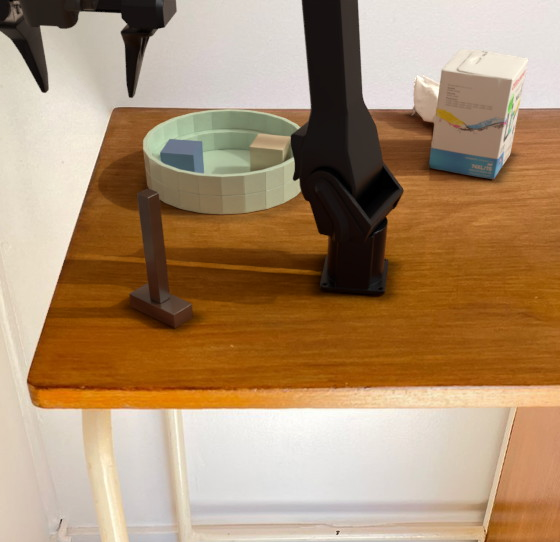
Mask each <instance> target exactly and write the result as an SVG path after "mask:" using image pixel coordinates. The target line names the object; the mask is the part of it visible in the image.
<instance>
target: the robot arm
mask: <svg viewBox="0 0 560 542" xmlns="http://www.w3.org/2000/svg"><path fill="white" fill-rule="evenodd" d="M301 11H302V12H301V13H302V23H303V34H304V45H305V56H306V65H307V66H306V68H307V81H308V92H309V101H310V109H309V110H310V112H309V116H308V119H307V120H308V121H306V123H304V124H303V125H302V126H300V128H299V129H298V130H297V131H295V132H294V133H293V134H292V135H291V149H292V153H293V157H294V162H295V171H294V175H293V180H294V181H296V180H298V179H299V184H300V189H301V192H300V193H301V195H302V197H303V199H304V201H306V202H308V203H309V205H310V208H311V209H310V210H311V213H312V215H313V220H314V222H315V226H316V229H317V232H318V234H320V235H323V236H327V255H326V256H325V259H324V263H323V268H322V273H321V278H320V282H319V289H320V290H321V291H323V292H335V293H337V292H338V293H350V294H362V295H375V296H382V295H385V294H386V288H387V279H388V278H387V277H388V269H389V268H388V267H389V259H387V258H385V256H386V248H387V247H386V246H387V234H388V224H389V221H388V218H387V216H389V214H390V213H391V212H392V211H393V210H395V209H396V208H397V206H398V204H399V203H400V200H401V198H402V196H403V194H404V191H405V190H404V188H403V186H402V185H401V184H400V182H399V181H398V179H397V178H396V177H395V175H394V174H393V172H392V171H391V170H390V168H389V167H388V166H387V165H386V163H385V162H384V159H383V153H382V147H381V144H380V143H381V142H380V138H379V132H378V128H377V124H376V122H375V120H374V119H373V116H372V114H371V113H370V111H369V109H368V107H367V105H366V102H365V99H364V95H363V77H362V56H361V55H362V53H361V35H360V34H361V33H360V14H359V12H360V11H359V0H301ZM80 12H81V13H82V12H86V13H103V14H104V13H107V14H108V13H109V14H120V17H121V20H122V21H124V22H125V24H126V25H125V26H124V27H123V28H122V29H121V30H120V36H121V39H122V41H123V45H124V59H125V60H124V61H125V64H124V65H125V82H126V84H125V85H126V89H127V94H128V98H129V99H133V98H134V97H135V95H136V93H137V88H138V83H139V78H140V75H141V71H142V65H143V61H144V57H145V53H146V49H147V46H148V43H149V40H150V38H152V37H153V36H154V35H155V34H156V32H157V31H158V29H159V30H160V29H164V28H166V27H167V25H168V24H169V23H170V21H172V19H173V18H174V16H175V15H176V14H177V12H178V9H177V0H0V32H1V34H3V35H4V36H6V37H7V38H8V39H9V40H10V41H11V42H12V44H13V45H14V46H15V48H16V49H17V51H18V52H19V53H20V55H21V57H22V59H23V61H24V62H25V64H26V66H27V68H28V69H29V72H30V73H31V75H32V77H33V79H34V81H35V83H36V85H37V86H38V88H39V90H40V91H41V93H42V94H47V93H48V91H49V89H50V87H49V86H50V84H49V72H48V65H47V60H46V59H47V58H46V54H45V48H44V42H43V35H42V31H41V27H57V28H58V29H62V30H67V29H71V28H73V27H75V26H76V25H77V24H78V22H79V15H80Z"/></svg>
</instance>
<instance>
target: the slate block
mask: <svg viewBox="0 0 560 542" xmlns="http://www.w3.org/2000/svg"><path fill="white" fill-rule="evenodd" d="M160 158H161V162H163V163H164V164H166V165H169V166H172V167H175V168H178V169H180V170H186V171H191V172H196V173H204V162H203V147H202V141H192V140H178V139H169V140H168V142H167V143H166V145H165V146H164V148H163V149H162V150H161V152H160Z"/></svg>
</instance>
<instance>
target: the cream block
mask: <svg viewBox="0 0 560 542" xmlns="http://www.w3.org/2000/svg"><path fill="white" fill-rule="evenodd" d="M289 159H291V137H289V136H279V135H269V134H258V135H257V136H256V138H255V139H254V141H253V142H252V144H251V145H250V172H253V171H259V170H264V169H267V168H270V167H273V166H276V165H279V164H282V163H283V162H285V161H287V160H289Z"/></svg>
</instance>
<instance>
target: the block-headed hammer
mask: <svg viewBox="0 0 560 542" xmlns="http://www.w3.org/2000/svg"><path fill="white" fill-rule="evenodd" d="M136 198H137V206H138V216H139V223H140V230H141V238H142V246H143V247H142V248H143V253H144V263H145V270H146V277H147V283H144V284H143V285H142V286H140V287H138V288H136V289H135V290H133V291H131V292H129V294H128V295H129V302H130V307H131V308H132V309H135V310H137V311H138V312H141V313H142V314H145V315H147V316H149V317H151V318H153V319H155V320H157V321H159V322H160V323H161V322H162V323H163V324H165V325H167V326H169V327H171V328H173V329H177V328H178V327H180V326H182V325H183V324H185V323H186V322H188V321H189V320H191V319H192V318H194V314H193V313H194V312H193V304H192V303H191V302H189V301H187V300H185V299H182V298H180V297H178V296H177V295H174V294H172V293H171V291H170V283H169V275H168V274H169V273H168V265H167V264H168V263H167V255H166V247H165V246H166V245H165V237H164V236H165V235H164V228H163V227H164V226H163V219H162V210H161V208H162V207H161V200H160V199H159V192H156V191H154V190H151V189H149V188H148V187H147V188H146V189H143V190H141V191H139V192H137V193H136Z"/></svg>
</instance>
